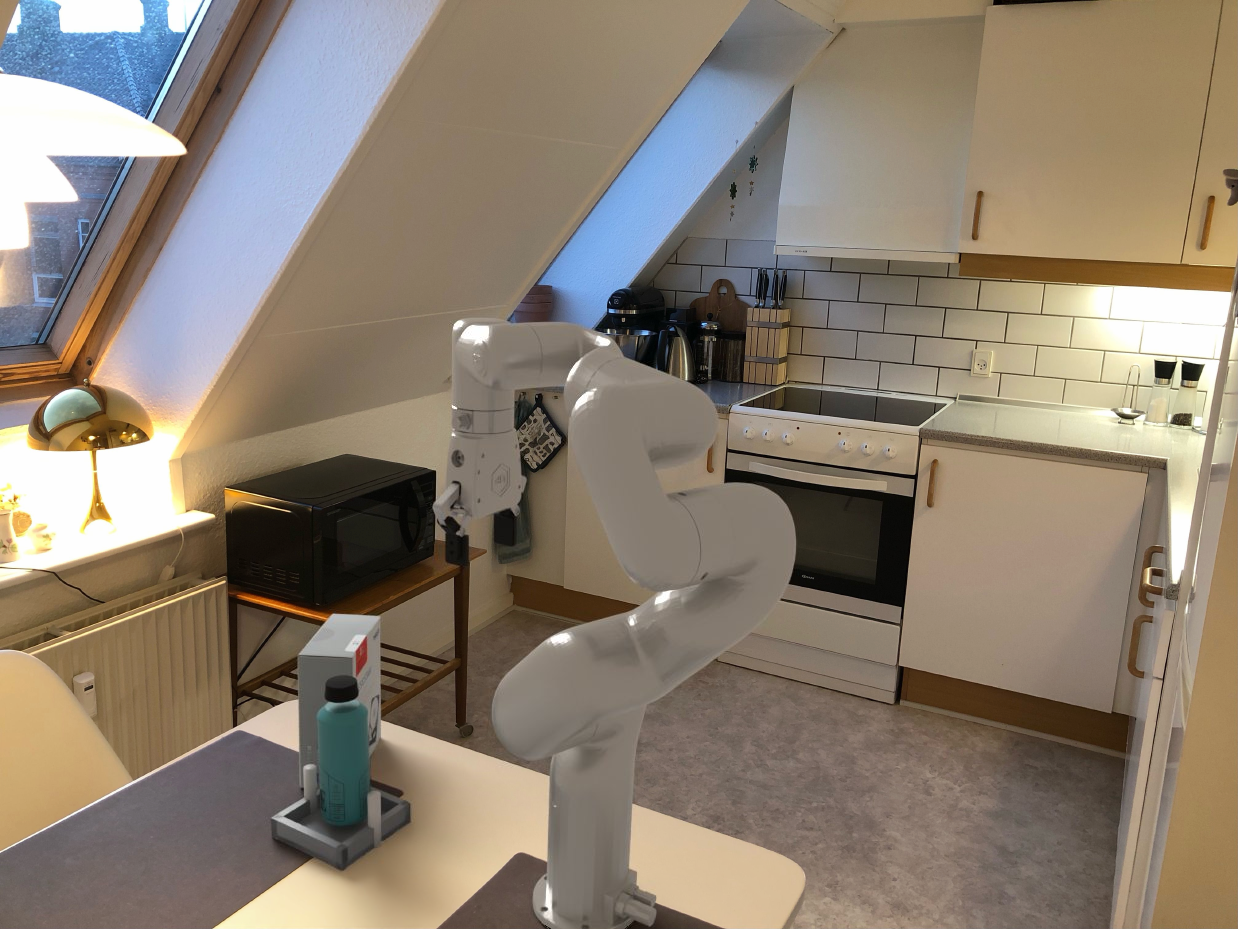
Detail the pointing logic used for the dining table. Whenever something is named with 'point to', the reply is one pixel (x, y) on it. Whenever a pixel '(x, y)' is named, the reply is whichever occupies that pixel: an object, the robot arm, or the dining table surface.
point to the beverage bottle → (343, 753)
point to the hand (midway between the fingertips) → (481, 554)
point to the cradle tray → (338, 842)
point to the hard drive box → (334, 653)
